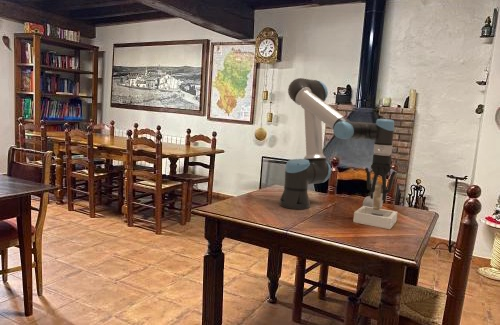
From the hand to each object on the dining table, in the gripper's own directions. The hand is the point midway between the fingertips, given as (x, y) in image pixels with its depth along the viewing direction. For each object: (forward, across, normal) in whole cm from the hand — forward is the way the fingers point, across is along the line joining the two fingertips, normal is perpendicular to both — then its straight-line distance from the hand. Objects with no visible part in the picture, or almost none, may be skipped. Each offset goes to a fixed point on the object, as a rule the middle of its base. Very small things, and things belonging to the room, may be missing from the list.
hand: (377, 206), depth 166 cm
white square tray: (+7, 0, 0) cm, 7 cm away
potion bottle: (+7, -6, +19) cm, 21 cm away
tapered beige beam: (+1, 0, 0) cm, 1 cm away
